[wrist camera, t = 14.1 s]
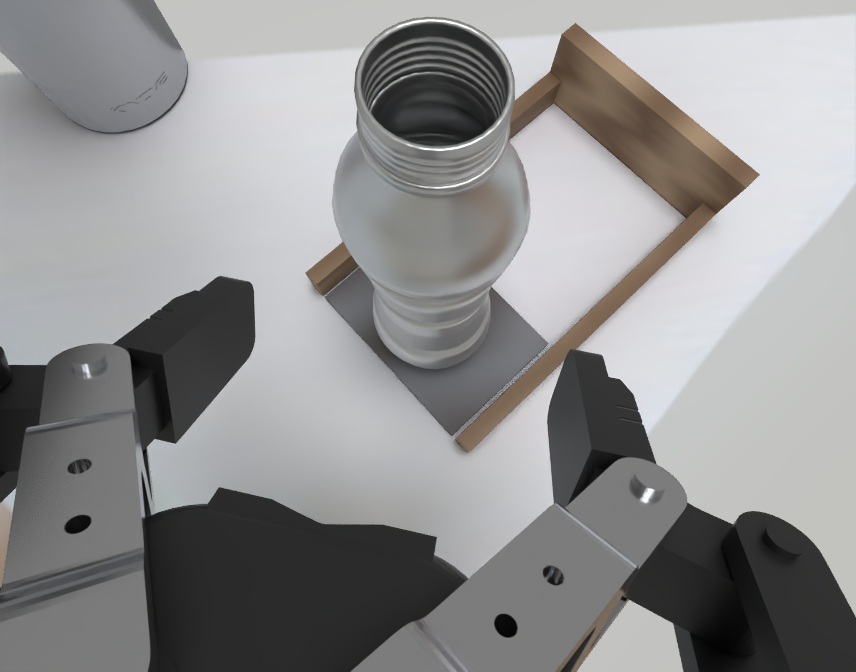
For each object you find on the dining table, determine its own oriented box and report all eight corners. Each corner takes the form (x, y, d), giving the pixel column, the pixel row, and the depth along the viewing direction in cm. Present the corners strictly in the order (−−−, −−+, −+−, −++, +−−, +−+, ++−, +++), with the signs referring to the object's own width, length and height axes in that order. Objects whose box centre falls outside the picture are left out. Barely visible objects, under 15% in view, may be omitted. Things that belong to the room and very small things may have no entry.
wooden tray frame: (312, 284, 32) (292, 252, 27) (555, 83, 35) (575, 23, 30) (467, 452, 29) (474, 450, 24) (710, 217, 33) (759, 174, 28)
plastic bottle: (437, 399, 30) (455, 278, 10) (354, 325, 31) (226, 88, 11) (507, 320, 31) (644, 76, 11) (424, 251, 32) (419, -79, 12)
